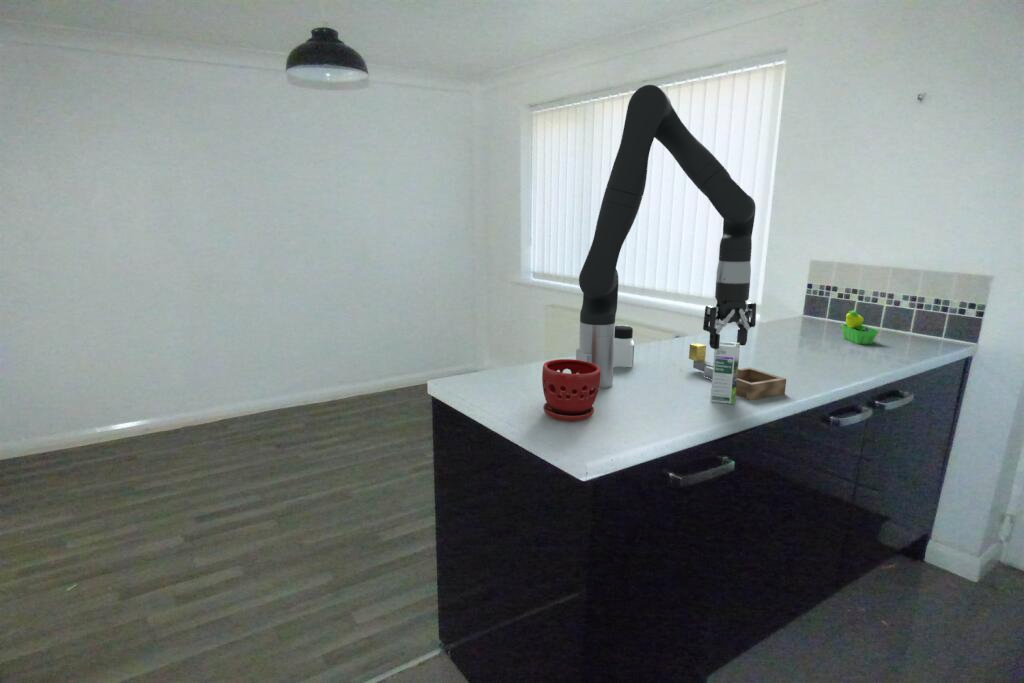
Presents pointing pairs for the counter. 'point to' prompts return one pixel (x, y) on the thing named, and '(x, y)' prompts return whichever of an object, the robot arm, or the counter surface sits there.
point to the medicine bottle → (623, 346)
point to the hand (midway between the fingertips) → (728, 346)
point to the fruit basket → (857, 329)
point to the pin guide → (708, 372)
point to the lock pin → (699, 356)
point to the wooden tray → (758, 384)
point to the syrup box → (725, 372)
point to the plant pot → (570, 389)
